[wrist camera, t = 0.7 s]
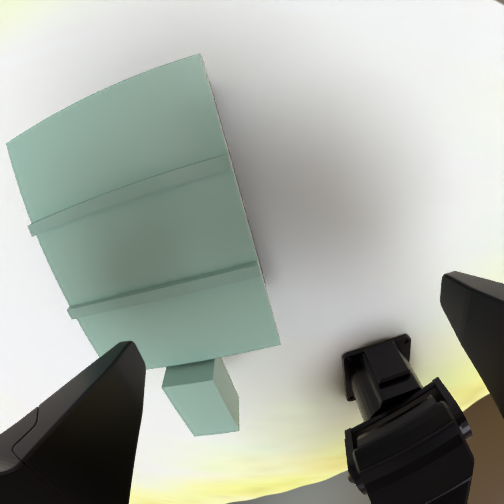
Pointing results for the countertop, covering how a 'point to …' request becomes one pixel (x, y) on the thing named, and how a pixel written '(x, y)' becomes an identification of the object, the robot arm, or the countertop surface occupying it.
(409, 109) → the countertop surface
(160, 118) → the lid
